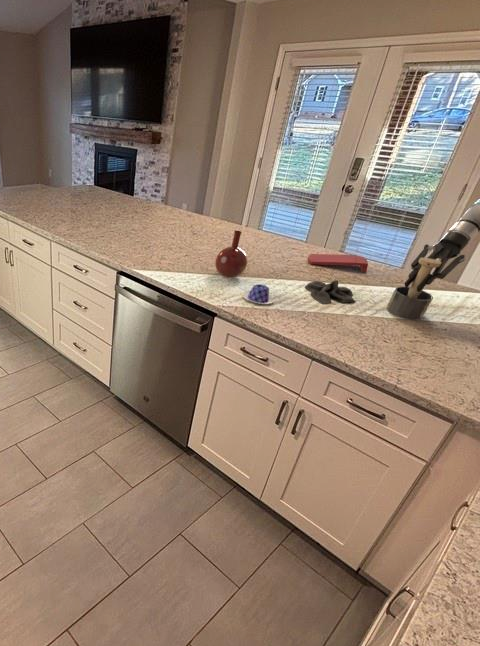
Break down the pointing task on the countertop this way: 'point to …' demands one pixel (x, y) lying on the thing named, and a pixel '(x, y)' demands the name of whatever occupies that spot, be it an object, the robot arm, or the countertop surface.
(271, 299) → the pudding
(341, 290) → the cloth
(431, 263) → the handle
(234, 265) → the round-bottom flask
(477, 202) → the robot arm
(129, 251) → the countertop surface
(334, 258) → the red bent slab
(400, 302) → the canister
